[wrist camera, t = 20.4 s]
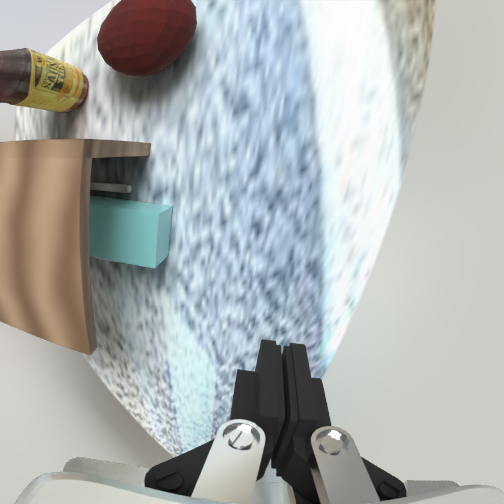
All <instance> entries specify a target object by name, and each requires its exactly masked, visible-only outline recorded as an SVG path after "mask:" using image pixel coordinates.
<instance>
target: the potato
mask: <svg viewBox="0 0 504 504" xmlns="http://www.w3.org/2000/svg"><path fill="white" fill-rule="evenodd" d="M196 24H197V20H196V7H195V6H194V4H193V3H192V1H191V0H121V1H120V2H119V3H118V4H117V5H116V6H114V7H113V9H112V10H111V11H110V13H109V14H108V16H107V17H106V19H105V20H104V22H103V23H102V25H101V28H100V31H99V34H98V37H97V42H98V50H99V52H100V54H101V55H102V57H103V59H104V61H105V62H106V63H107V64H108V65H109V66H111V67H112V68H113V69H115V70H117V71H119V72H122V73H125V74H128V75H133V76H147V75H150V74H154V73H157V72H159V71H161V70H163V69H164V68H166V67H168V66H169V65H170V64H171V63H173V62H174V61H175V60H176V59H177V58H178V57H179V56H180V55H181V54H182V53H183V52H184V51H185V50H186V48H187V47H188V45H189V44H190V42H191V41H192V38H193V35H194V32H195V29H196Z"/></svg>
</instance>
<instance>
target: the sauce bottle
mask: <svg viewBox="0 0 504 504" xmlns="http://www.w3.org/2000/svg"><path fill="white" fill-rule="evenodd" d="M87 89H88V81H87V77H86V76H85V75H84V74H83V72H81V71H80V70H79V69H78V68H76V67H74V66H71V65H69V64H66V63H64V62H61V61H59V60H57V59H54V58H51V57H49V56H46V55H44V54H41V53H38V52H35V51H33V50H30V49H27V48H24V49H16V50H8V51H0V103H9V104H11V105H17V106H24V107H31V108H37V109H43V110H48V111H54V112H70V111H72V110H74V109H76V108H77V107H78V106H79V105H80V104H81V103H82V102H83V100H84V99H85V96H86V94H87Z"/></svg>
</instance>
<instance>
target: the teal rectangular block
mask: <svg viewBox="0 0 504 504" xmlns="http://www.w3.org/2000/svg"><path fill="white" fill-rule="evenodd" d="M172 210H173V206H169V205H161V204H154V203H147V202H139V201H131V200H123V199H115V198H107V197H99V196H90V201H89V256H93V257H98V258H103V259H108V260H113V261H118V262H123V263H128V264H133V265H138V266H143V267H149V268H154V269H155V268H156V267H157V266H158V265H159V264H160V263H161V262H162V261H163V260H164V259H165V258H166V257H167V256H168V255H169V243H170V231H171V220H172Z"/></svg>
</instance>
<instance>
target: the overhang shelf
mask: <svg viewBox="0 0 504 504" xmlns="http://www.w3.org/2000/svg"><path fill="white" fill-rule="evenodd" d="M150 147H151V143H142V142H129V141H115V140H97V139H46V140H23V141H8V142H0V321H1V322H4V323H6V324H8V325H10V326H12V327H15V328H17V329H20V330H22V331H24V332H27V333H29V334H32V335H35V336H37V337H40V338H42V339H45V340H47V341H50V342H53V343H56V344H59V345H61V346H64V347H67V348H70V349H73V350H76V351H79V352H82V353H85V354H88V355H91V354H92V353H93V351H94V350H95V349H96V348H97V343H96V335H95V327H94V318H93V308H92V296H91V282H90V261H89V257H92V258H97V259H103V258H98V257H93V256H89V201H90V189H91V190H101V191H112V192H121V193H129V192H131V185H123V184H112V183H101V182H90V180H91V166H92V158H103V157H125V156H149V155H150ZM103 260H108V259H103ZM108 261H113V260H108ZM113 262H118V261H113ZM118 263H123V262H118Z"/></svg>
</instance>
